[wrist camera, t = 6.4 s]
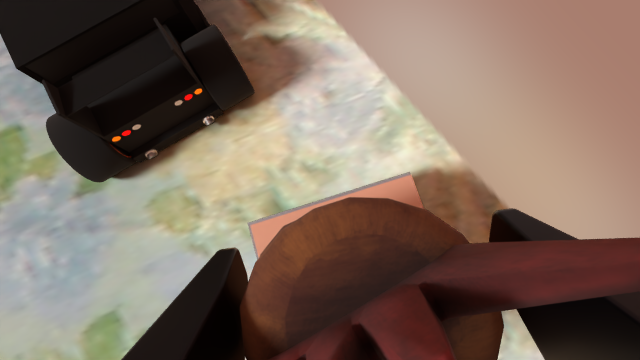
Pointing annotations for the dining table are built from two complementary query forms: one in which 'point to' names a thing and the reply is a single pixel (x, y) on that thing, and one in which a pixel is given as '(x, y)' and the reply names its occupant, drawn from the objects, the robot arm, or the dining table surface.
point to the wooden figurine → (410, 285)
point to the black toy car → (122, 75)
